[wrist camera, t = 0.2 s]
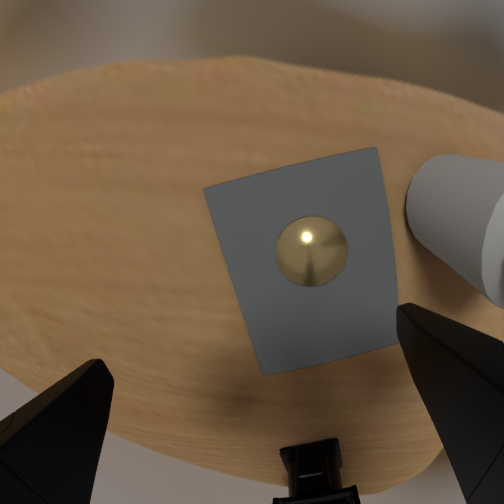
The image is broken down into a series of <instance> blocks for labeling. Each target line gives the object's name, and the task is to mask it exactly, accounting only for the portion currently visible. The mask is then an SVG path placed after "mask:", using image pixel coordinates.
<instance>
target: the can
mask: <svg viewBox="0 0 504 504" xmlns="http://www.w3.org/2000/svg"><path fill="white" fill-rule="evenodd" d="M406 212H407V219H408V224H409V226H410V228H411V230H412V233H413V235H414V237H415V238H416V239H417V240H418V241H419V242H420V243H421V244H422V245H423V246H424V247H425V248H427V249H428V250H429V251H430V252H432V253H433V254H434V255H436V256H437V257H438V258H439V259H441V260H442V261H443V262H444V263H446V264H447V265H448V266H449V267H451V268H452V269H453V270H454V271H455V272H457V273H458V274H459V275H460V276H462V277H463V278H464V279H465V280H466V281H468V282H469V283H470V284H471V285H472V286H473V287H475V288H476V289H477V290H478V291H479V292H480V293H482V294H483V295H484V296H485V297H486V298H487V299H488V300H489V301H491V302H492V303H493V304H494V305H495V306H497V307H500V308H502V309H504V163H501V162H496V161H491V160H485V159H480V158H474V157H468V156H462V155H455V154H448V153H447V154H442V155H438V156H434V157H433V158H431V159H430V160H428V161H427V162H425V163H424V164H423V165H422V166H421V167H420V169H419V170H418V171H417V172H416V174H415V175H414V176H413V179H412V182H411V184H410V187H409V189H408V193H407V202H406Z"/></svg>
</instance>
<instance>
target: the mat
mask: <svg viewBox="0 0 504 504" xmlns="http://www.w3.org/2000/svg"><path fill="white" fill-rule="evenodd" d="M203 192H204V195H205V198H206V201H207V205H208V208H209V211H210V214H211V218H212V221H213V224H214V227H215V230H216V234H217V237H218V240H219V243H220V246H221V249H222V252H223V256H224V259H225V262H226V265H227V268H228V271H229V274H230V277H231V280H232V283H233V287H234V290H235V293H236V296H237V299H238V302H239V305H240V308H241V311H242V314H243V317H244V320H245V323H246V326H247V329H248V332H249V335H250V338H251V341H252V344H253V346H254V349H255V352H256V355H257V358H258V361H259V364H260V367H261V370H262V373H263V375H270V374H275V373H280V372H285V371H290V370H295V369H299V368H304V367H309V366H313V365H317V364H322V363H326V362H330V361H334V360H338V359H342V358H346V357H350V356H354V355H357V354H361V353H365V352H368V351H372V350H375V349H379V348H382V347H386V346H389V345H392V344H396V343H399V340H398V337H397V332H396V309H397V306H399V304H398V290H397V278H396V267H395V257H394V248H393V240H392V232H391V225H390V218H389V211H388V205H387V199H386V193H385V187H384V181H383V176H382V171H381V166H380V161H379V156H378V151H377V147H371V148H366V149H361V150H356V151H351V152H347V153H342V154H337V155H333V156H328V157H324V158H319V159H315V160H310V161H306V162H302V163H298V164H294V165H289V166H285V167H281V168H277V169H273V170H269V171H266V172H262V173H258V174H254V175H250V176H247V177H243V178H239V179H235V180H232V181H228V182H225V183H221V184H218V185H214V186H211V187H207V188H204V189H203ZM304 216H321V217H324V218H327V219H329V220H331V221H332V222H334V223H335V224H336V225H337V226H338V227H339V228H340V230H341V231H342V232H343V234H344V236H345V238H346V241H347V247H348V253H347V258H346V262H345V264H344V266H343V268H342V269H341V271H340V272H339V273H338V274H337V275H336V276H335V277H334V278H333V279H331V280H330V281H328V282H326V283H324V284H321V285H316V286H304V285H300V284H297V283H294V282H292V281H291V280H289V279H288V278H287V277H286V276H285V275H284V274H283V273H282V272H281V270H280V268H279V266H278V264H277V260H276V251H275V250H276V243H277V240H278V237H279V235H280V234H281V232H282V231H283V229H284V228H285V227H286V226H287V225H288V224H289V223H291V222H292V221H294V220H296V219H298V218H301V217H304Z"/></svg>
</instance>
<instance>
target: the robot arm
mask: <svg viewBox="0 0 504 504" xmlns="http://www.w3.org/2000/svg"><path fill="white" fill-rule="evenodd" d="M396 332H397V337H398V340H399V342H400V345H401V348H402V350H403V353H404V356H405V359H406V361H407V364H408V367H409V370H410V373H411V376H412V378H413V381H414V383H415V385H416V387H417V389H418V391H419V394H420V396H421V398H422V400H423V402H424V404H425V406H426V408H427V410H428V413H429V415H430V417H431V419H432V421H433V423H434V426H435V428H436V430H437V432H438V435H439V437H440V439H441V441H442V444H443V446H444V448H445V451H446V453H447V455H448V458H449V460H450V462H451V465H452V467H453V470H454V472H455V475H456V477H457V480H458V482H459V485H460V487H461V490H462V493H463V495H464V498H465V500H466V504H504V343H503V341H501V340H499V339H496V338H494V337H492V336H489V335H487V334H485V333H482V332H480V331H477V330H475V329H473V328H470V327H468V326H466V325H463V324H461V323H459V322H456V321H454V320H452V319H449V318H447V317H444V316H442V315H440V314H437V313H435V312H433V311H430V310H428V309H425V308H423V307H421V306H418V305H416V304H413V303H410V302H409V303H405V304H402V305H399V306H397V309H396ZM113 389H114V379H113V376H112V375H111V373H110V371H109V370H108V368H107V366H106V365H105V363H104V361H103V360H101V359H91V360H89V361H87V362H86V363H84V364H83V365H81V366H80V367H78V368H77V369H75V370H74V371H73V372H71V373H70V374H68V375H67V376H65V377H64V378H62V379H61V380H59V381H58V382H57V383H55V384H54V385H52V386H51V387H49V388H48V389H46V390H45V391H44V392H42V393H41V394H39V395H38V396H36V397H35V398H33V399H32V400H31V401H29V402H28V403H26V404H25V405H23V406H22V407H21V408H19V409H18V410H16V411H15V412H13V413H12V414H10V415H9V416H7V417H6V418H4V419H3V420H1V421H0V504H90V499H91V495H92V489H93V485H94V480H95V475H96V471H97V466H98V462H99V457H100V453H101V449H102V445H103V441H104V437H105V433H106V429H107V424H108V419H109V413H110V407H111V401H112V395H113ZM280 456H281V458H282V460H283V463H284V465H285V468H286V470H287V472H288V485H289V497H286V498H273V503H272V504H361V503H360V499H359V495H358V491H357V486H356V485H353V486H351V487H347V488H343V487H342V481H341V475H340V468H342V460H341V454H340V447H339V441H338V439H330V440H325V441H321V442H316V443H311V444H305V445H300V446H294V447H288V448H282V449H280Z"/></svg>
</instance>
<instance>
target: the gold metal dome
mask: <svg viewBox="0 0 504 504" xmlns="http://www.w3.org/2000/svg"><path fill="white" fill-rule="evenodd" d="M275 251H276V260H277V264H278V266H279V268H280V270H281V272H282V273H283V274H284V275H285V276H286V277H287V278H288V279H289V280H291V281H292V282H294V283H297V284H300V285H304V286H316V285H321V284H324V283H326V282H328V281H330V280H331V279H333V278H334V277H335V276H336V275H337V274H338V273H339V272H340V271H341V269H342V268H343V266H344V264H345V262H346V258H347V253H348V247H347V241H346V238H345V236H344V234H343V232H342V231H341V230H340V228H339V227H338V226H337V225H336V224H335V223H334V222H332V221H331V220H329V219H327V218H324V217H321V216H304V217H301V218H298V219H296V220H294V221H292V222H291V223H289V224H288V225H287V226H286V227H285V228H284V229H283V231H282V232H281V234H280V235H279V237H278V240H277V243H276V250H275Z"/></svg>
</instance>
